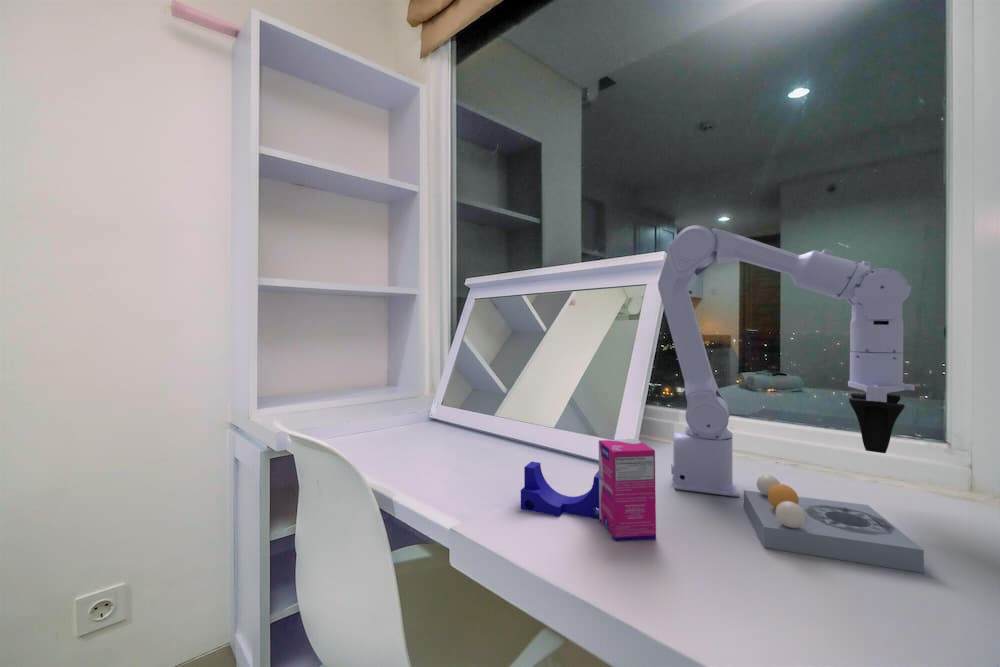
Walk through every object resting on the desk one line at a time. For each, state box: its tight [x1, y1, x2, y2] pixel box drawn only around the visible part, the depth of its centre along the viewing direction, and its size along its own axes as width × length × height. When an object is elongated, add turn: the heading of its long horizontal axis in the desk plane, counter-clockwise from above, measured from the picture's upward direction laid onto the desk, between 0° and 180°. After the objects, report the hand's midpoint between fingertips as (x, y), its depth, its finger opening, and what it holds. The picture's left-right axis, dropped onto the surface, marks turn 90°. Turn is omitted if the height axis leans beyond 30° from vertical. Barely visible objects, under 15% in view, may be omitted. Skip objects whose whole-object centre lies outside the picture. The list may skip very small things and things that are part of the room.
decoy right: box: [776, 501, 806, 528], centre depth 51 cm, size 3×3×3 cm
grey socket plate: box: [743, 489, 925, 574], centre depth 54 cm, size 15×13×2 cm
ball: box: [768, 483, 799, 508], centre depth 55 cm, size 3×3×3 cm
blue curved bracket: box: [520, 461, 599, 520], centre depth 61 cm, size 12×4×6 cm, turn 65°
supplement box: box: [598, 438, 657, 542], centre depth 55 cm, size 6×6×12 cm
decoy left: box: [756, 474, 781, 496], centre depth 61 cm, size 3×3×3 cm
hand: (874, 446), depth 60 cm, fingers open, 7 cm apart
